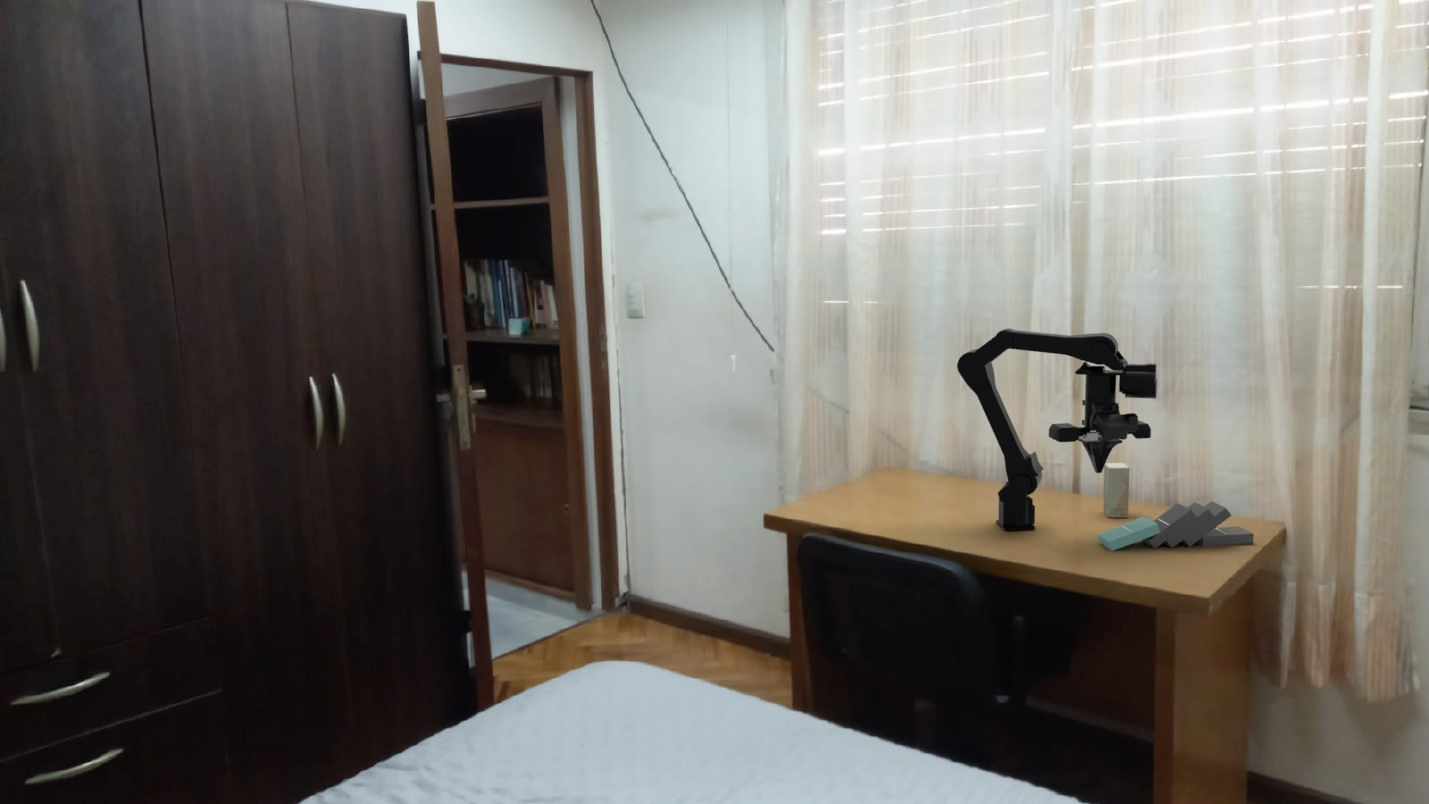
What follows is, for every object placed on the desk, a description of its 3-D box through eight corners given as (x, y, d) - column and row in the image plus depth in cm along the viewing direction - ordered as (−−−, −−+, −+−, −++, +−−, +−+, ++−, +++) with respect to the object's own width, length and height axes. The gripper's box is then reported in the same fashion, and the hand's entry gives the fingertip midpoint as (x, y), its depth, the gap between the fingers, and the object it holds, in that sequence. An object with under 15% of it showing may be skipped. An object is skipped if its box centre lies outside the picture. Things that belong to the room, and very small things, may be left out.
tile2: (1149, 541, 185) (1190, 509, 184) (1136, 533, 190) (1177, 502, 189) (1154, 549, 185) (1196, 517, 185) (1142, 541, 190) (1183, 510, 190)
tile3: (1166, 540, 185) (1208, 508, 185) (1153, 532, 190) (1194, 502, 190) (1172, 548, 186) (1214, 516, 185) (1159, 540, 191) (1200, 509, 190)
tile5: (1203, 536, 185) (1253, 533, 186) (1189, 529, 190) (1238, 526, 191) (1202, 546, 186) (1253, 543, 186) (1189, 538, 191) (1238, 536, 191)
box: (1128, 518, 206) (1130, 468, 204) (1107, 517, 207) (1108, 468, 205) (1123, 511, 211) (1124, 462, 209) (1102, 511, 212) (1104, 462, 210)
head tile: (1108, 541, 185) (1157, 523, 185) (1097, 534, 190) (1144, 516, 190) (1111, 551, 185) (1160, 533, 185) (1100, 543, 190) (1147, 525, 190)
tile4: (1183, 539, 185) (1225, 507, 185) (1170, 531, 190) (1211, 500, 190) (1189, 547, 186) (1231, 515, 185) (1176, 539, 191) (1217, 508, 190)
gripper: (1071, 405, 183) (1069, 484, 185) (1166, 401, 183) (1163, 480, 186) (1048, 396, 194) (1047, 471, 196) (1138, 392, 194) (1136, 467, 197)
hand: (1098, 472), depth 193 cm, fingers closed
